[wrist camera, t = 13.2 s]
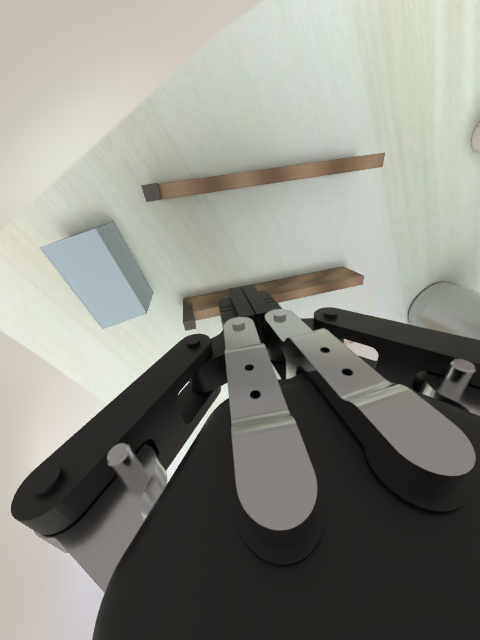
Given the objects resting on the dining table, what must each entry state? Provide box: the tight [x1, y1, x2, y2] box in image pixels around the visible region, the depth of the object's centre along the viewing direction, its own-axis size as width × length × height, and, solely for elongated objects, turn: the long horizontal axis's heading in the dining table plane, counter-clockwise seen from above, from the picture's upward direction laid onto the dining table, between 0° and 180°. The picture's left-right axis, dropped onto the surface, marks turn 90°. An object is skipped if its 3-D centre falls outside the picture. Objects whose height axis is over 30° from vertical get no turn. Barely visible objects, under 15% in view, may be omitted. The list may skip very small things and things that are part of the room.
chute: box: [141, 153, 385, 331], centre depth 26 cm, size 24×14×6 cm, turn 97°
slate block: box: [40, 222, 153, 329], centre depth 24 cm, size 5×9×6 cm, turn 16°
